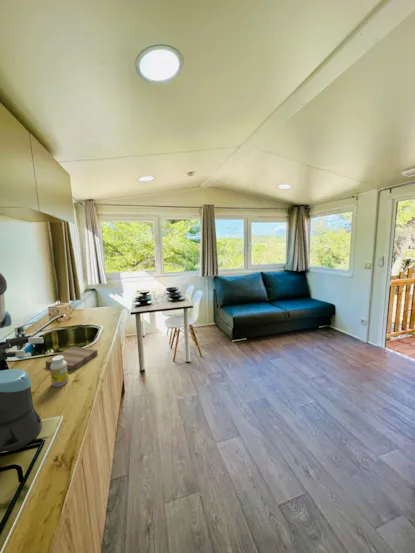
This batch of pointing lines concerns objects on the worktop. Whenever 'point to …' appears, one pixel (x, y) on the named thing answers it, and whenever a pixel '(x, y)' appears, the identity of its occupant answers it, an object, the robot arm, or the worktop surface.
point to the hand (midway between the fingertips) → (34, 346)
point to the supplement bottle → (59, 371)
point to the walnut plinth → (75, 357)
